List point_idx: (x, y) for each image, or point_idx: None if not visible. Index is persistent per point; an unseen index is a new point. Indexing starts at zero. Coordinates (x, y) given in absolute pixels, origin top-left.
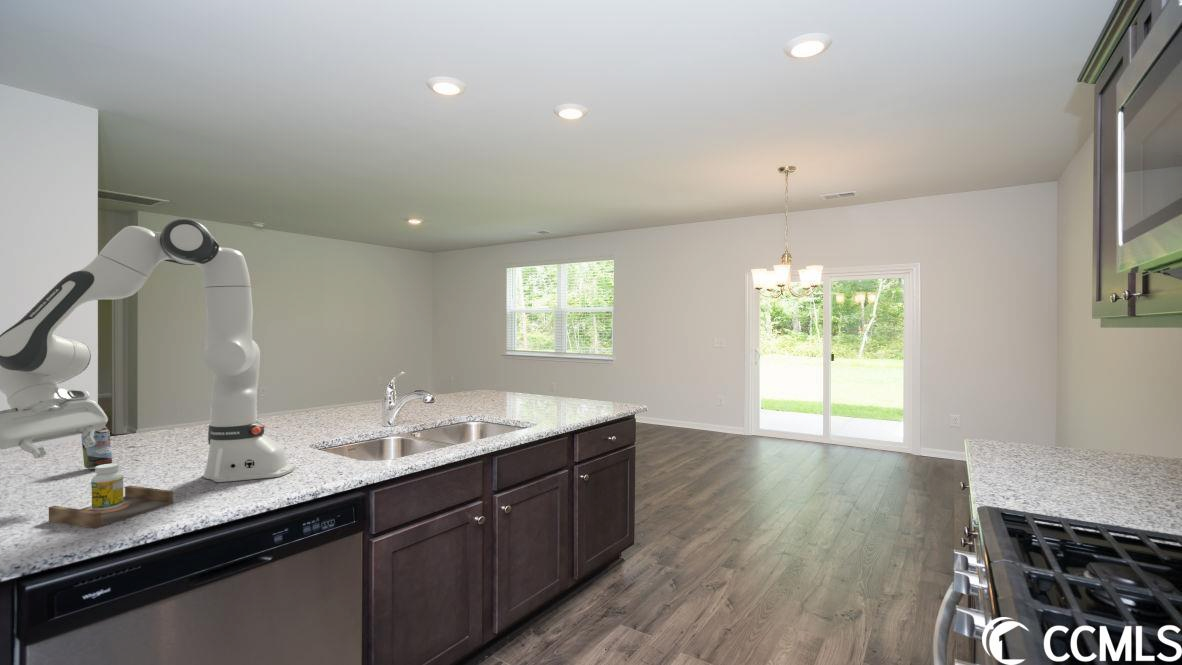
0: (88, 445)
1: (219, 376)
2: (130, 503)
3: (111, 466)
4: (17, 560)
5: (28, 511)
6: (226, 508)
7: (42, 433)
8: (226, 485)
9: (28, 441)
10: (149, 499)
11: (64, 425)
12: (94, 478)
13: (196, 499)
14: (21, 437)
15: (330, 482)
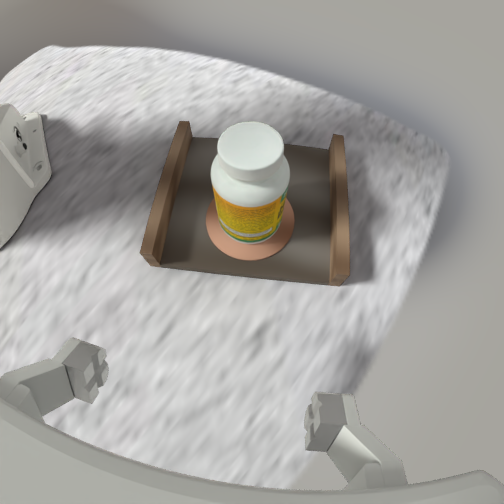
0: (104, 354)
1: None
2: (208, 201)
3: (258, 123)
4: (444, 155)
5: (296, 420)
6: (202, 65)
7: (308, 492)
8: (70, 148)
9: (383, 472)
10: (179, 184)
11: (110, 490)
12: (287, 171)
13: (156, 126)
14: (430, 484)
15: (85, 52)
